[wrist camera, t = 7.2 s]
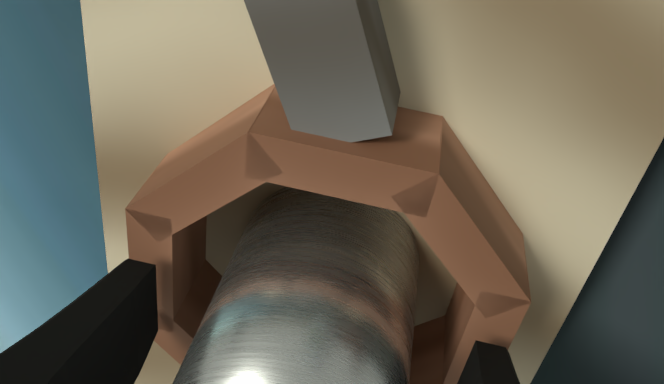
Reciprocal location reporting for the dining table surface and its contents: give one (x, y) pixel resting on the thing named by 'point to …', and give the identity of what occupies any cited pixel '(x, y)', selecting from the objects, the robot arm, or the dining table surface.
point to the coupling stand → (379, 146)
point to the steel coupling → (311, 298)
